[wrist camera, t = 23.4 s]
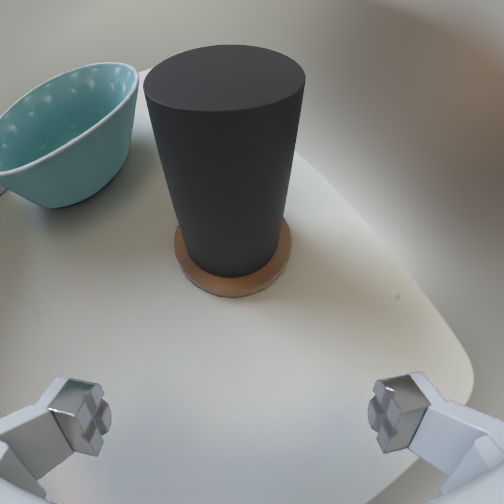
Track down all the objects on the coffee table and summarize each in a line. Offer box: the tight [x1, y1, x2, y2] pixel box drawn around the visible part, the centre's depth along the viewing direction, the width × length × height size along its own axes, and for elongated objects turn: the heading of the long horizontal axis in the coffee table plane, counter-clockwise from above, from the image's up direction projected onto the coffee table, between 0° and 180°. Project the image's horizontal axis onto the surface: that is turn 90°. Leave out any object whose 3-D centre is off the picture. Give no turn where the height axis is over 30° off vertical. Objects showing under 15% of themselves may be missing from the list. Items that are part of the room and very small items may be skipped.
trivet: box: [175, 217, 291, 297], centre depth 21 cm, size 8×8×1 cm
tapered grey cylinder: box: [143, 45, 305, 278], centre depth 15 cm, size 6×6×12 cm
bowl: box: [0, 62, 139, 208], centre depth 22 cm, size 16×16×8 cm
